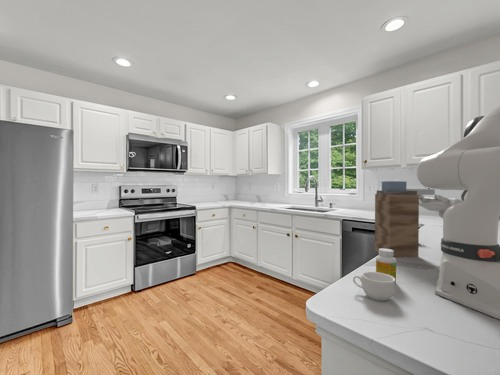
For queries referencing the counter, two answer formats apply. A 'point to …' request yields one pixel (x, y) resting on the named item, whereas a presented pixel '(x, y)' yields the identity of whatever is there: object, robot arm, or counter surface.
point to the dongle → (404, 188)
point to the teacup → (377, 285)
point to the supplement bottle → (386, 262)
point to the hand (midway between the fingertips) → (426, 195)
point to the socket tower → (397, 222)
